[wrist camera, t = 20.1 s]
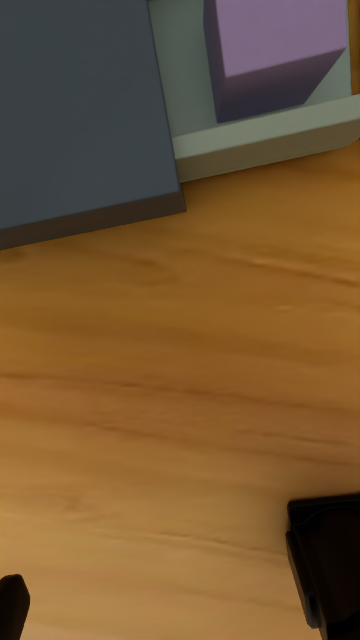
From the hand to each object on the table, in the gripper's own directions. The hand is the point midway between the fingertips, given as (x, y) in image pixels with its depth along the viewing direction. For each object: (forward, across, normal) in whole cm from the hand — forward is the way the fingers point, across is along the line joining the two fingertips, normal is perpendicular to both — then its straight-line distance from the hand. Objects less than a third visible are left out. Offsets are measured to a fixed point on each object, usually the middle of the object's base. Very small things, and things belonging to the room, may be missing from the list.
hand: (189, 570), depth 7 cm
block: (+10, -5, -15) cm, 19 cm away
